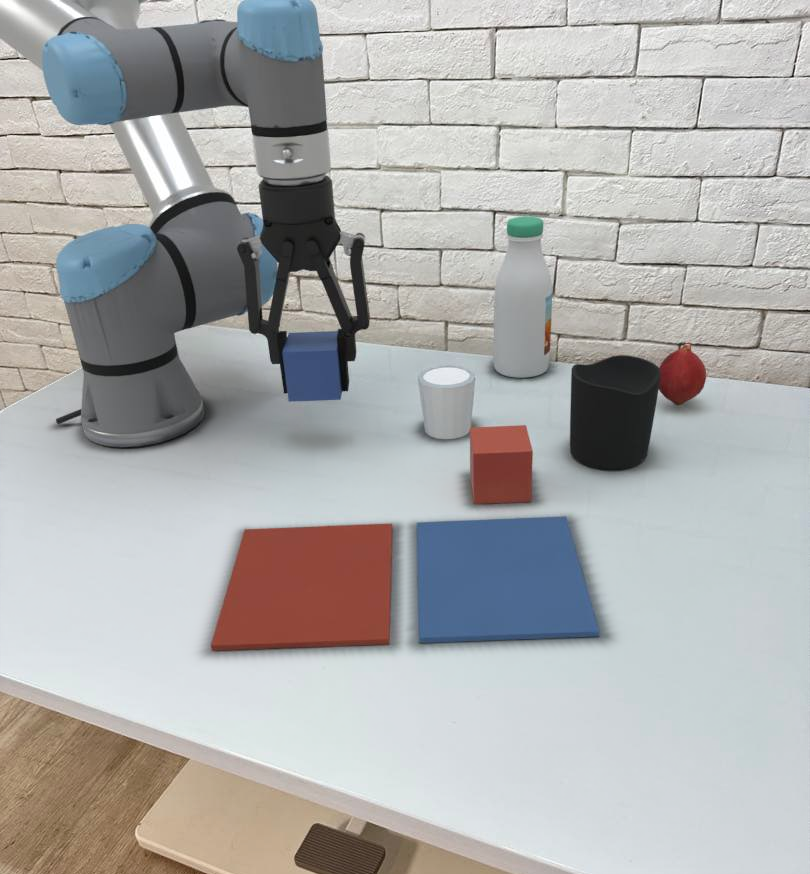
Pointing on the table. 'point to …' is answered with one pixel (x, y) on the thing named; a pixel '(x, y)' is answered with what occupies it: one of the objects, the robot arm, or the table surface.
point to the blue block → (312, 366)
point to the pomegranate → (682, 375)
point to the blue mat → (501, 581)
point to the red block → (500, 464)
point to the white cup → (447, 400)
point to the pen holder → (613, 411)
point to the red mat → (308, 588)
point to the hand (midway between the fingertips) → (316, 387)
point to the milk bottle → (523, 303)
